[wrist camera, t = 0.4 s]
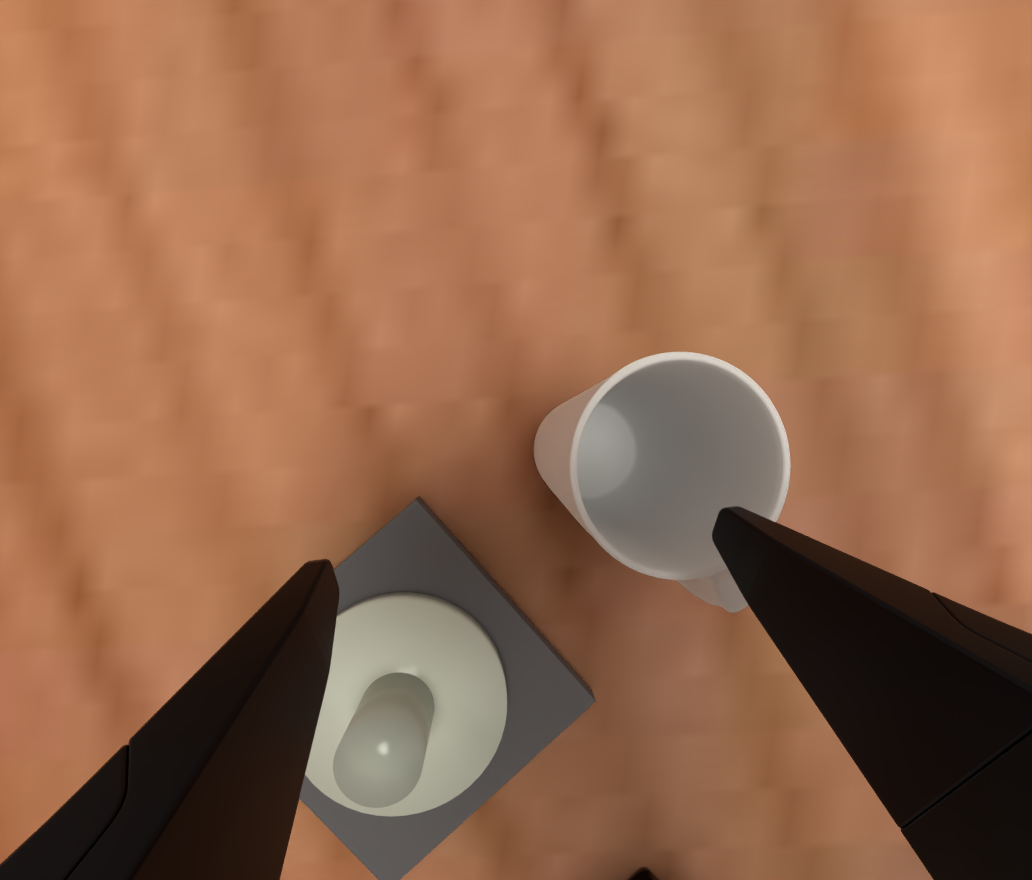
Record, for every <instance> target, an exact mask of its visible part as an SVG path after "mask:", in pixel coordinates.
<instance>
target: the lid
mask: <svg viewBox="0 0 1032 880" xmlns="http://www.w3.org/2000/svg"><path fill="white" fill-rule="evenodd" d="M506 715H507V686H506V678H505V671H504V668H503V664H502V660H501V658H500V655H499V653H498V650H497V648H496V646H495V644H494V643H493V641H492V639H491V638H490V636H489V635H488V633H487V632H486V631H485V630H484V628H483V627H482V626H481V625H480V624H479V623H478V622H477V621H476V620H475V619H474V618H473V617H472V616H471V615H469V614H468V613H467V612H465V611H464V610H463V609H461V608H460V607H458V606H456V605H454V604H452V603H450V602H448V601H446V600H443V599H441V598H438V597H435V596H431V595H427V594H422V593H413V592H394V593H388V594H381V595H377V596H374V597H370V598H367V599H365V600H362V601H360V602H358V603H355V604H353V605H352V606H350V607H348V608H346V609H345V610H343V611H341V612H340V613H339V614H338V615H337V619H336V627H335V635H334V642H333V650H332V658H331V665H330V671H329V676H328V681H327V686H326V690H325V694H324V698H323V702H322V706H321V710H320V715H319V719H318V723H317V727H316V731H315V735H314V739H313V743H312V748H311V752H310V756H309V760H308V764H307V768H306V772H305V775H306V776H307V778H308V779H309V780H310V781H311V782H312V783H313V784H314V785H315V786H316V787H317V788H318V789H319V790H320V791H321V792H322V793H324V794H325V795H326V796H328V797H329V798H331V799H332V800H334V801H335V802H337V803H339V804H341V805H343V806H345V807H347V808H350V809H353V810H356V811H358V812H361V813H366V814H371V815H376V816H390V817H391V816H406V815H412V814H417V813H421V812H424V811H427V810H431V809H434V808H436V807H438V806H440V805H442V804H445V803H447V802H448V801H450V800H452V799H453V798H455V797H456V796H458V795H459V794H461V793H462V792H463V791H464V790H466V789H467V788H468V787H469V786H471V785H472V784H473V782H474V781H475V780H476V779H477V778H478V777H479V776H480V775H481V774H482V773H483V771H484V770H485V769H486V767H487V766H488V765H489V763H490V761H491V760H492V758H493V756H494V754H495V753H496V750H497V748H498V746H499V743H500V741H501V738H502V735H503V731H504V727H505V722H506Z"/></svg>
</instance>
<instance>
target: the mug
mask: <svg viewBox="0 0 1032 880" xmlns="http://www.w3.org/2000/svg"><path fill="white" fill-rule="evenodd" d="M534 458H535V463H536V466H537V469H538V472H539V474H540V475H541V477H542V479H543V480H544V481H545V483H546V484H547V486H548V487H549V488H550V490H551V491H552V492H553V493H554V494H555V495H556V496H557V498H558V499H559V500H560V501H561V502H562V503H563V505H564V506H565V507H566V508H567V509H568V511H569V512H570V513H571V514H572V515H573V516H574V518H575V519H576V520H577V521H578V522H579V523H580V525H581V526H582V527H583V528H584V529H585V530H586V531H587V532H588V533H589V534H590V535H591V536H593V538H594V539H595V540H596V541H597V542H598V544H599V545H600V546H601V547H602V548H603V549H604V550H605V551H606V552H608V553H609V554H610V555H611V556H612V557H614V558H615V559H616V560H618V561H619V562H621V563H622V564H624V565H626V566H627V567H629V568H631V569H633V570H635V571H638V572H640V573H643V574H645V575H649V576H652V577H656V578H661V579H668V580H676V581H677V582H678V583H679V584H681V585H682V586H683V587H684V588H685V589H687V590H688V591H689V592H690V593H692V594H693V595H694V596H696V597H697V598H699V599H701V600H702V601H704V602H706V603H709V604H711V605H715V606H721V607H723V608H724V609H725V610H726V611H728V612H730V613H735V612H738V611H740V610H742V609H744V608H745V607H747V606H748V603H747V602H746V600H745V599H744V597H743V595H742V593H741V592H740V590H739V588H738V586H737V585H736V583H735V581H734V579H733V577H732V576H731V574H730V572H729V570H728V568H727V566H726V565H725V563H724V561H723V559H722V557H721V556H720V554H719V552H718V550H717V548H716V546H715V545H714V543H713V540H712V531H713V528H714V525H715V522H716V519H717V516H718V513H719V511H720V510H721V509H722V508H725V507H732V506H739V507H742V508H745V509H747V510H749V511H751V512H754V513H756V514H758V515H760V516H763V517H765V518H767V519H769V520H772V521H774V522H776V521H777V519H778V517H779V515H780V513H781V510H782V508H783V505H784V502H785V499H786V495H787V491H788V486H789V479H790V452H789V445H788V440H787V436H786V432H785V429H784V426H783V423H782V421H781V418H780V416H779V414H778V412H777V410H776V408H775V407H774V405H773V403H772V402H771V400H770V399H769V397H768V396H767V395H766V393H765V392H764V391H763V390H762V389H761V388H760V386H759V385H758V384H757V383H756V382H755V381H753V380H752V379H751V378H750V377H749V376H748V375H746V374H745V373H744V372H742V371H741V370H739V369H738V368H736V367H734V366H733V365H731V364H729V363H727V362H725V361H723V360H720V359H718V358H715V357H712V356H708V355H704V354H699V353H692V352H667V353H661V354H656V355H651V356H648V357H645V358H642V359H639V360H637V361H635V362H632V363H630V364H629V365H627V366H625V367H623V368H622V369H620V370H619V371H617V372H616V373H615V374H613V375H612V376H610V377H608V378H606V379H604V380H603V381H601V382H599V383H597V384H596V385H594V386H592V387H590V388H589V389H587V390H585V391H583V392H582V393H580V394H578V395H576V396H574V397H573V398H571V399H569V400H567V401H565V402H564V403H562V404H560V405H559V406H557V407H556V408H554V409H553V410H552V411H551V412H550V413H549V414H548V415H547V416H546V417H545V418H544V420H543V421H542V423H541V424H540V426H539V428H538V431H537V433H536V437H535V442H534Z"/></svg>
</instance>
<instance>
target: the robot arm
mask: <svg viewBox="0 0 1032 880" xmlns="http://www.w3.org/2000/svg"><path fill="white" fill-rule="evenodd" d="M712 540H713V543H714V545H715V546H716V548H717V550H718V552H719V554H720V556H721V557H722V559H723V561H724V563H725V565H726V566H727V568H728V570H729V572H730V574H731V576H732V577H733V579H734V581H735V583H736V585H737V586H738V588H739V590H740V592H741V593H742V595H743V597H744V599H745V600H746V602H747V603H748V605H749V606H750V608H751V610H752V611H753V612H754V614H755V615H756V617H757V618H758V620H759V621H760V623H761V624H762V626H763V627H764V629H765V630H766V632H767V633H768V635H769V636H770V638H771V639H772V641H773V642H774V644H775V645H776V647H777V648H778V649H779V651H780V652H781V654H782V655H783V657H784V658H785V660H786V661H787V663H788V664H789V666H790V667H791V669H792V670H793V672H794V673H795V675H796V676H797V678H798V679H799V681H800V682H801V683H802V685H803V686H804V688H805V689H806V691H807V692H808V694H809V695H810V697H811V698H812V700H813V701H814V703H815V704H816V706H817V707H818V709H819V710H820V712H821V713H822V715H823V716H824V718H825V719H826V720H827V722H828V723H829V725H830V726H831V728H832V729H833V731H834V732H835V734H836V735H837V737H838V738H839V740H840V741H841V743H842V744H843V746H844V747H845V749H846V750H847V752H848V753H849V754H850V756H851V757H852V759H853V760H854V762H855V763H856V765H857V766H858V768H859V769H860V771H861V772H862V774H863V775H864V777H865V778H866V780H867V781H868V783H869V784H870V786H871V787H872V788H873V790H874V791H875V793H876V794H877V796H878V797H879V799H880V800H881V802H882V803H883V805H884V806H885V808H886V809H887V811H888V812H889V814H890V815H891V817H892V818H893V820H894V821H895V823H896V824H897V825H898V827H900V828H901V832H902V833H903V835H904V836H905V838H906V839H907V841H908V842H909V844H910V845H911V847H912V848H913V850H914V851H915V853H916V854H917V856H918V857H919V859H920V860H921V862H922V863H923V864H924V866H925V867H926V869H927V870H928V872H929V873H930V875H931V876H932V878H933V879H934V880H1032V634H1030V633H1028V632H1025V631H1023V630H1021V629H1018V628H1016V627H1013V626H1011V625H1008V624H1006V623H1003V622H1001V621H999V620H996V619H994V618H992V617H989V616H987V615H985V614H982V613H980V612H978V611H975V610H973V609H971V608H968V607H966V606H964V605H961V604H959V603H957V602H955V601H952V600H950V599H948V598H946V597H943V596H941V595H939V594H937V593H934V592H932V593H931V592H930V591H929V590H927V589H925V588H923V587H921V586H918V585H916V584H914V583H912V582H909V581H907V580H905V579H903V578H900V577H898V576H896V575H894V574H891V573H889V572H887V571H884V570H882V569H880V568H878V567H875V566H873V565H871V564H869V563H866V562H864V561H862V560H860V559H857V558H855V557H853V556H851V555H848V554H846V553H844V552H842V551H839V550H837V549H835V548H833V547H830V546H828V545H826V544H824V543H821V542H819V541H817V540H815V539H812V538H810V537H808V536H805V535H803V534H801V533H799V532H796V531H794V530H792V529H790V528H787V527H785V526H783V525H781V524H778V523H776V522H774V521H772V520H769V519H767V518H765V517H763V516H760V515H758V514H756V513H754V512H751V511H749V510H747V509H745V508H742V507H739V506H732V507H725V508H722V509H721V510H720V511H719V513H718V516H717V519H716V522H715V525H714V528H713V531H712ZM338 604H339V585H338V582H337V579H336V576H335V573H334V570H333V566H332V564H331V562H330V561H329V560H328V559H321V560H313V561H309V562H307V563H305V564H304V565H303V566H302V567H301V568H300V569H299V570H298V571H297V572H296V573H295V574H294V575H293V576H292V577H291V578H290V579H289V580H288V581H287V582H286V583H285V584H284V585H283V586H282V587H281V588H280V589H279V590H278V591H277V592H276V593H275V594H274V595H273V596H272V597H271V598H270V599H269V600H268V601H267V602H266V603H265V604H264V605H263V606H262V607H261V608H260V609H259V610H258V611H257V612H256V613H255V614H254V615H253V616H252V617H251V618H250V619H249V620H248V621H247V622H246V623H245V624H244V625H243V626H242V627H241V628H240V629H239V630H238V631H237V632H236V633H235V634H234V635H233V636H232V637H231V638H230V639H229V640H228V641H227V642H226V643H225V644H224V645H223V646H222V647H221V648H220V649H219V650H218V651H217V652H216V653H215V654H214V655H213V656H212V657H211V658H210V659H209V660H208V661H207V662H206V663H205V664H204V665H203V666H202V667H201V668H200V669H199V670H198V671H197V672H196V673H195V674H194V675H193V676H192V677H191V678H190V679H189V680H188V681H187V682H186V683H185V684H184V685H183V686H182V687H181V688H180V689H179V690H178V691H177V692H176V693H175V694H174V695H173V696H172V697H171V698H170V699H169V700H168V701H167V702H166V703H165V704H164V705H163V706H162V707H161V708H160V709H159V710H158V711H157V712H156V713H155V714H154V715H153V716H152V717H151V718H150V719H149V720H148V721H147V722H146V723H145V724H144V725H143V726H142V728H141V729H140V730H139V731H138V732H137V733H136V734H135V735H134V736H133V737H132V738H131V739H130V740H129V745H124V746H122V747H121V748H120V749H119V750H118V751H117V752H116V753H115V754H114V755H113V756H112V757H111V758H110V759H109V760H108V761H107V762H106V763H105V764H104V765H103V766H102V767H101V768H100V769H99V770H98V771H97V772H96V773H95V774H94V775H93V776H92V777H91V778H90V779H89V780H88V781H87V782H86V783H85V784H84V785H83V786H82V787H81V788H80V789H79V790H78V791H77V792H76V793H75V794H74V795H73V796H72V797H71V798H70V799H69V800H68V801H67V802H66V803H65V804H64V805H63V806H62V807H61V808H60V809H59V810H58V811H57V812H56V813H54V814H53V815H52V816H51V817H50V818H49V819H48V820H47V821H46V822H45V823H44V824H43V825H42V826H41V827H40V828H39V829H38V830H37V831H36V832H34V833H33V834H32V835H31V836H30V837H29V838H28V839H27V840H26V841H25V842H24V843H23V844H22V845H21V846H19V847H18V848H17V849H16V850H15V851H14V852H13V853H12V854H11V855H10V856H9V857H8V858H7V859H5V860H4V861H3V862H2V863H1V864H0V880H280V876H281V872H282V867H283V863H284V859H285V855H286V851H287V847H288V843H289V838H290V834H291V830H292V826H293V822H294V818H295V814H296V810H297V805H298V801H299V797H300V793H301V789H302V785H303V781H304V777H305V772H306V768H307V764H308V760H309V756H310V752H311V748H312V743H313V739H314V735H315V731H316V727H317V723H318V719H319V715H320V710H321V706H322V702H323V698H324V694H325V690H326V686H327V681H328V676H329V671H330V665H331V658H332V650H333V642H334V635H335V627H336V619H337V611H338ZM633 880H657V879H656V878H655V877H654V876H653V875H652V874H651V873H650V872H649V871H642V872H641V873H639V874H638V875H637V876H636V877H635V878H634V879H633Z"/></svg>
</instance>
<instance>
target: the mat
mask: <svg viewBox="0 0 1032 880" xmlns="http://www.w3.org/2000/svg"><path fill="white" fill-rule="evenodd" d="M334 573H335V576H336V579H337V582H338V585H339V604H338V611H337V615H338V614H339V613H340V612H341V611H343V610H345V609H346V608H348V607H350V606H352V605H353V604H355V603H358V602H360V601H362V600H365V599H367V598H370V597H374V596H377V595H381V594H388V593H394V592H413V593H422V594H427V595H431V596H435V597H438V598H441V599H443V600H446V601H448V602H450V603H452V604H454V605H456V606H458V607H460V608H461V609H463V610H464V611H465V612H467V613H468V614H469V615H471V616H472V617H473V618H474V619H475V620H476V621H477V622H478V623H479V624H480V625H481V626H482V627H483V628H484V630H485V631H486V632H487V633H488V635H489V636H490V638H491V639H492V641H493V643H494V644H495V646H496V648H497V650H498V653H499V655H500V658H501V660H502V664H503V668H504V671H505V678H506V686H507V715H506V722H505V727H504V731H503V735H502V738H501V741H500V743H499V746H498V748H497V750H496V753H495V754H494V756H493V758H492V760H491V761H490V763H489V765H488V766H487V767H486V769H485V770H484V771H483V773H482V774H481V775H480V776H479V777H478V778H477V779H476V780H475V781H474V782H473V784H472V785H471V786H469V787H468V788H467V789H466V790H464V791H463V792H462V793H461V794H459V795H458V796H456V797H455V798H453V799H452V800H450V801H448V802H447V803H445V804H442V805H440V806H438V807H436V808H434V809H431V810H427V811H424V812H421V813H417V814H412V815H406V816H391V817H390V816H376V815H371V814H366V813H361V812H358V811H356V810H353V809H350V808H347V807H345V806H343V805H341V804H339V803H337V802H335V801H334V800H332V799H331V798H329V797H328V796H326V795H325V794H324V793H322V792H321V791H320V790H319V789H318V788H317V787H316V786H315V785H314V784H313V783H312V782H311V781H310V780H309V779H308V778H307V776H306V775H305V777H304V781H303V785H302V789H301V793H300V797H299V798H300V799H301V800H302V801H303V802H304V803H305V805H306V806H307V807H308V808H309V809H310V810H311V811H312V812H313V813H314V814H315V815H316V816H317V817H318V818H319V819H320V820H321V821H322V822H323V823H324V824H325V825H326V826H327V827H328V828H329V829H330V830H331V831H332V832H333V833H334V834H335V835H336V836H337V837H338V838H339V840H340V841H341V842H342V843H343V844H344V845H345V846H346V847H347V848H348V849H349V850H350V851H351V852H352V853H353V854H354V855H355V856H356V857H357V858H358V859H359V860H360V861H361V862H362V863H363V864H364V865H365V866H366V867H367V868H368V869H369V870H370V871H371V872H372V873H373V874H374V876H375V877H376V878H377V879H378V880H400V879H401V878H402V877H403V876H404V875H406V874H407V873H408V872H409V871H410V870H411V869H412V868H413V867H414V866H415V865H416V864H418V863H419V862H420V861H421V860H422V859H423V858H424V857H425V856H426V855H427V854H429V853H430V852H431V851H432V850H433V849H434V848H435V847H436V846H437V845H438V844H440V843H441V842H442V841H443V840H444V839H445V838H446V837H447V836H448V835H449V834H451V833H452V832H453V831H454V830H455V829H456V828H457V827H458V826H459V825H460V824H462V823H463V822H464V821H465V820H466V819H467V818H468V817H469V816H470V815H471V814H473V813H474V812H475V811H476V810H477V809H478V808H479V807H480V806H481V805H482V804H483V803H485V802H486V801H487V800H488V799H489V798H490V797H491V796H492V795H493V794H494V793H496V792H497V791H498V790H499V789H500V788H501V787H502V786H503V785H504V784H505V783H507V782H508V781H509V780H510V779H511V778H512V777H513V776H514V775H515V774H516V773H518V772H519V771H520V770H521V769H522V768H523V767H524V766H525V765H526V764H527V763H529V762H530V761H531V760H532V759H533V758H534V757H535V756H536V755H537V754H538V753H540V752H541V751H542V750H543V749H544V748H545V747H546V746H547V745H548V744H549V743H550V742H552V741H553V740H554V739H555V738H556V737H557V736H558V735H559V734H560V733H561V732H563V731H564V730H565V729H566V728H567V727H568V726H569V725H570V724H571V723H572V722H574V721H575V720H576V719H577V718H578V717H579V716H580V715H581V714H582V713H583V712H585V711H586V710H587V709H588V708H589V707H590V706H591V705H592V704H593V703H594V702H596V701H595V698H594V695H593V693H592V690H591V689H590V688H589V687H588V686H587V684H586V683H585V682H584V681H583V680H582V679H581V678H580V677H579V675H578V674H577V673H576V672H575V671H574V670H573V669H572V668H571V666H570V665H569V664H568V663H567V662H566V661H565V660H564V659H563V657H562V656H561V655H560V654H559V653H558V652H557V651H556V650H555V649H554V647H553V646H552V645H551V644H550V643H549V642H548V641H547V640H546V638H545V637H544V636H543V635H542V634H541V633H540V632H539V631H538V629H537V628H536V627H535V626H534V625H533V624H532V623H531V622H530V620H529V619H528V618H527V617H526V616H525V615H524V614H523V613H522V612H521V610H520V609H519V608H518V607H517V606H516V605H515V604H514V603H513V601H512V600H511V599H510V598H509V597H508V596H507V595H506V594H505V592H504V591H503V590H502V589H501V588H500V587H499V586H498V585H497V583H496V582H495V581H494V580H493V579H492V578H491V577H490V576H489V575H488V573H487V572H486V571H485V570H484V569H483V568H482V567H481V566H480V564H479V563H478V562H477V561H476V560H475V559H474V558H473V557H472V555H471V554H470V553H469V552H468V551H467V550H466V549H465V548H464V546H463V545H462V544H461V543H460V542H459V541H458V540H457V539H456V538H455V536H454V535H453V534H452V533H451V532H450V531H449V530H448V529H447V527H446V526H445V525H444V524H443V523H442V522H441V521H440V520H439V518H438V517H437V516H436V515H435V514H434V513H433V512H432V511H431V509H430V508H429V507H428V506H427V505H426V504H425V503H424V502H423V501H422V499H421V498H420V497H418V498H417V499H416V500H414V501H413V502H412V503H411V504H410V505H409V506H407V507H406V508H405V509H404V510H403V511H402V512H401V513H399V514H398V515H397V516H396V517H395V518H394V519H392V520H391V521H390V522H389V523H388V524H387V525H385V526H384V527H383V528H382V529H381V530H380V531H379V532H377V533H376V534H375V535H374V536H373V537H372V538H370V539H369V540H368V541H367V542H366V543H365V544H363V545H362V546H361V547H360V548H359V549H358V550H357V551H355V552H354V553H353V554H352V555H351V556H350V557H348V558H347V559H346V560H345V561H344V562H343V563H341V564H340V565H339V566H338V567H337V568H336V569H335V570H334Z"/></svg>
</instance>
